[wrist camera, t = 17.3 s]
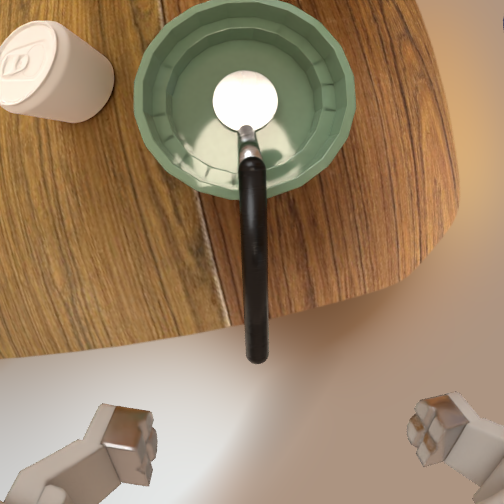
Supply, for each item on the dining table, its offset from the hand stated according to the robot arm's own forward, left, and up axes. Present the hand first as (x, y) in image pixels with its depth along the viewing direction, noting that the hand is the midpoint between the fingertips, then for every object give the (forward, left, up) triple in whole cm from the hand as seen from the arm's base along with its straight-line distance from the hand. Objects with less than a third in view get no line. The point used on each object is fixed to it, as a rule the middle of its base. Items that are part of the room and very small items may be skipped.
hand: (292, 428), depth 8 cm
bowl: (0, -13, -25) cm, 28 cm away
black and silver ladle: (0, -4, -25) cm, 25 cm away
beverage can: (+17, -17, -25) cm, 35 cm away
